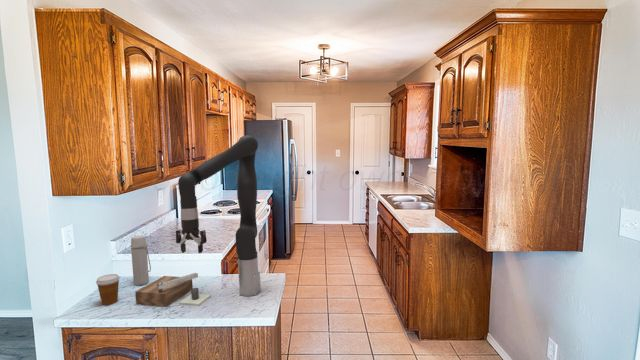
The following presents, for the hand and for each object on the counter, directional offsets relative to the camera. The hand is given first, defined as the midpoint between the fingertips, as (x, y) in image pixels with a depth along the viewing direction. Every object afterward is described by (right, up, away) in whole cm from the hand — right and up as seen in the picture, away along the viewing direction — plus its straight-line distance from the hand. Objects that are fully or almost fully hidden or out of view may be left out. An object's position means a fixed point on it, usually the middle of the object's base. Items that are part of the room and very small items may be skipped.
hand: (192, 252), depth 165 cm
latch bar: (-8, -15, +3) cm, 17 cm away
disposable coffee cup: (-39, -24, +2) cm, 46 cm away
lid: (+1, -23, +1) cm, 23 cm away
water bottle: (-35, -22, +26) cm, 49 cm away
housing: (-15, -22, +7) cm, 28 cm away
